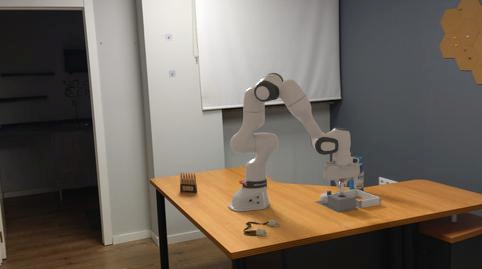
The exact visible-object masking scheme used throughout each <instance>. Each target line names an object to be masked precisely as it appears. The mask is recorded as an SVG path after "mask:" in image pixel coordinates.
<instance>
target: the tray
mask: <svg viewBox="0 0 482 269" xmlns="http://www.w3.org/2000/svg"><path fill="white" fill-rule="evenodd" d="M338 193H339V191H337V192H336V194H338ZM344 193H346V194H349V195H352V196H354V197H356V208H358V209H363V208H368V207H369V208H370V207H373V206H379V205H382V201H381V200H382V198H381V197H380V196H377V195H374V194H372V193H369V192H366V191H361V190H358V189H353V190H349V189H348V190H344ZM357 197H358V198H360V199H361V200H360V199H357ZM362 199H363V200H362Z"/></svg>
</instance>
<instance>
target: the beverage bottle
mask: <svg viewBox="0 0 482 269" xmlns="http://www.w3.org/2000/svg"><path fill="white" fill-rule="evenodd" d="M354 157H355V158H358V159H359V165H360V174H359V176H356V177H350V178H349V181H348V182H349V183H348V186H349V188H348V190H353V189H358V190H361V191H363V192H365V191H364V185H365V183H364V180H365V173H364V170H365V169H364V165H363V160H364V159H363V157H362V156H354Z"/></svg>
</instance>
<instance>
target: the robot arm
mask: <svg viewBox="0 0 482 269" xmlns="http://www.w3.org/2000/svg"><path fill="white" fill-rule="evenodd" d="M278 99H280V100H281V101H283V103H284V105H285V106H286V108H287V109H288V111H289V112H290V113H291V115H292V116H293V117H294V118H295V119H297V120H298V121H299V122H301V123H302V125H303V127H304V128H305V130H306V132H307V133H308V135H309V137H310V144H311V147H312V148H313V149H314V150H315V151H316V152H317V153H318V154H319V155H322V156H323V155H325V156H326V155H331V154H332V161H327V162H326V163H324V165H323V172H322V178H323V180H324V181H327V182H330V181H333V182H334V183H335V186H336V187H335V188H338V189H339V188H340V187H341V184H339V179H344V188H345V187H347V186H348V182H349V178H350V177H356V176H359V174H360V165H359V159H358V158H355V157H356V156H351V155H352V153H351V150H350V149H351V133H350V131H349V130H348V129H346V128H344V127H343V128H342V127H333V128H332V130H330V131H328V132H325V131H323V130H322V129H321V128H320V126H319V124H318V123H317V122H316V120H315V119H314V116H313V114H312V113H313V112H312V108H313V107H312V105H311V102H310V100H309V98H308V96H307V95H306V93H305V90H303V88H301V86H300V84H298V83H297V81H295V80H294V79H290V78H289V79H286V80H284V78H283V77H282V75H281V74H279V73H277V72H270V73H268V74H266V75H265V76H263V77H262V78H261V79H260V80H259V81H257V83H256V84H255V86H254V87H253V86H252V87H248V88H247V89H246V90H245V92H244V96H243V102H242V103H243V105H242V107H243V108H242V110H243V115H242V118H243V119H242V125H241V126H240V129H239V130H238V131H237V132H236V133H235V134H234V135H233V136H232V137H231V139H230V142H229V147H230V150H231V151H232V152H233V153H234V154H239V155H256V156H254V158H253V159H250V160H249V161H247V162H246V164H245V166H244V177H245V179H244V180H242V179H240V180H239V181H238V184H239V185H242V187H240V188H239V189H238V190H237V191H236V192H234V193H233V194H232V199H231V202H229V203H228V204H227V208H228V209H230V210H232V211H234V212H238V213H239V212H240V213H241V212H250V211H257V210H258V211H259V210H260V211H261V210H266V209H267V207H269V206H270V205H271V204H270V201H269V196H268V190H267V189H268V179H267V163H268V161H269V159H270V158H271V156H272V155H273V153H275V152H276V151H277V150H278V149H279V144H280V140H279V137H278V136H277V134H276V133H272V132H255V131H256V130H258V129H259V128H261V127H263V125H264V124H265V122H266V110H265V109H266V107H265V106H266V105H265V104H266V103H267V102H271V101H277V100H278Z"/></svg>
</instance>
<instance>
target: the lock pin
mask: <svg viewBox="0 0 482 269" xmlns="http://www.w3.org/2000/svg"><path fill="white" fill-rule="evenodd" d="M344 181H345V179H339V181H338V183H339V184H341V187H340V188H338V192H339V197H344V191H345V187H344Z"/></svg>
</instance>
